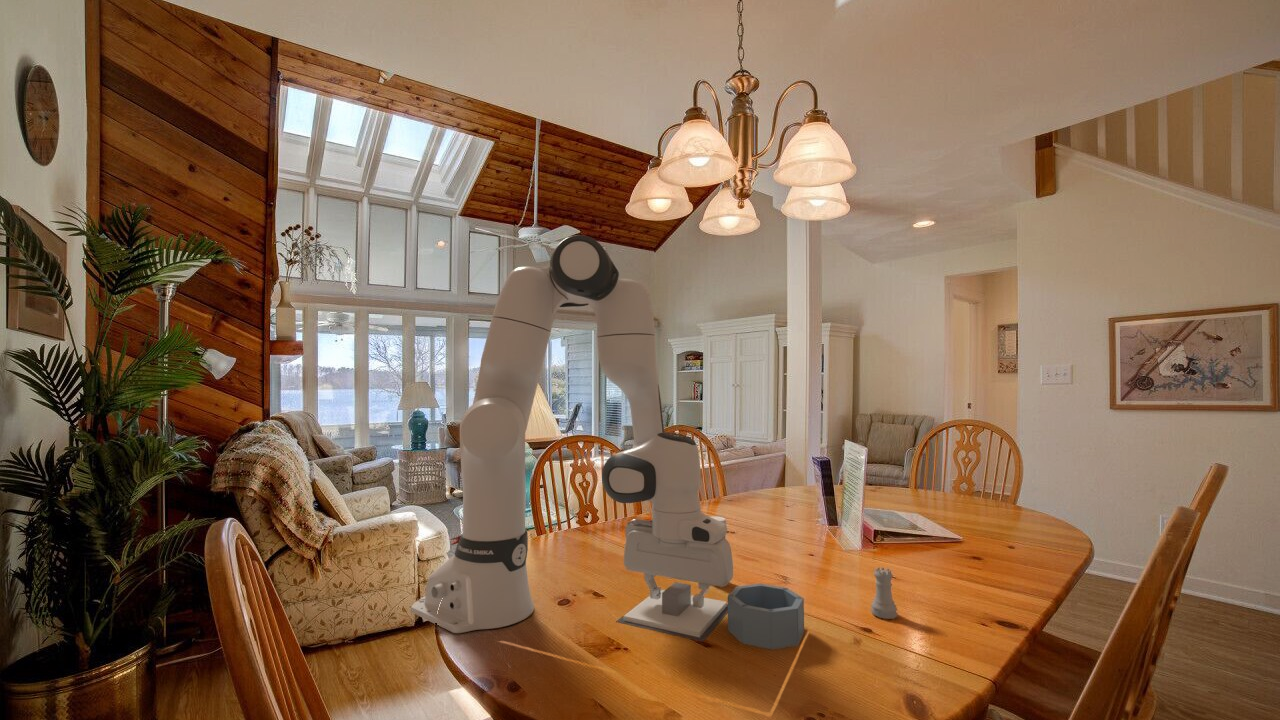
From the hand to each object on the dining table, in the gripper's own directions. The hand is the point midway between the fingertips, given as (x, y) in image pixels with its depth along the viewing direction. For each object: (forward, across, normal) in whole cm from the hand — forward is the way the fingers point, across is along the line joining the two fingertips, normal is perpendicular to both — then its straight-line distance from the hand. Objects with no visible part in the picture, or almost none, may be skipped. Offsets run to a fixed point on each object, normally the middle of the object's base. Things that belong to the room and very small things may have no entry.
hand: (676, 602), depth 98 cm
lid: (+2, 0, 0) cm, 2 cm away
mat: (+2, 0, 0) cm, 2 cm away
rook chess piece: (+2, +33, +17) cm, 37 cm away
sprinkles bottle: (+2, +1, +18) cm, 18 cm away
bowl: (+2, +16, 0) cm, 16 cm away
